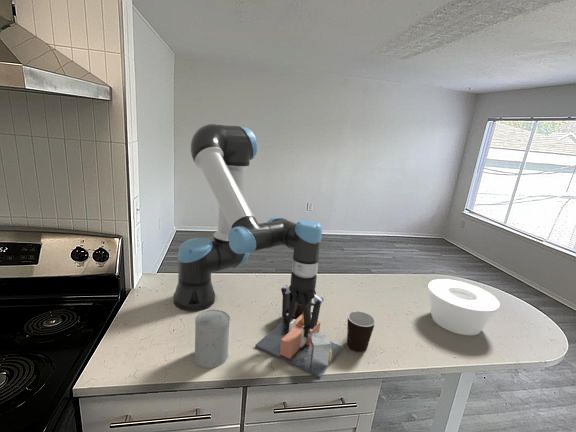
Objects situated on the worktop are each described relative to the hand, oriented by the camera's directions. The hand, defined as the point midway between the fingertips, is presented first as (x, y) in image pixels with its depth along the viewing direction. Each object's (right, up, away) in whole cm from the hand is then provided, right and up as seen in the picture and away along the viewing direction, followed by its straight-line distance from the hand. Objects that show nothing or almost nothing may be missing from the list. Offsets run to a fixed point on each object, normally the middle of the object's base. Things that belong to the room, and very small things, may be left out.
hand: (296, 341), depth 102 cm
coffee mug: (+20, -3, +5) cm, 21 cm away
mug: (+1, +2, +15) cm, 15 cm away
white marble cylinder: (-25, -2, -7) cm, 26 cm away
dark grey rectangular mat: (+1, -2, 0) cm, 2 cm away
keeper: (+6, -3, -6) cm, 9 cm away
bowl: (+61, -1, +24) cm, 66 cm away
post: (+3, -1, +5) cm, 6 cm away
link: (0, -1, +1) cm, 1 cm away
